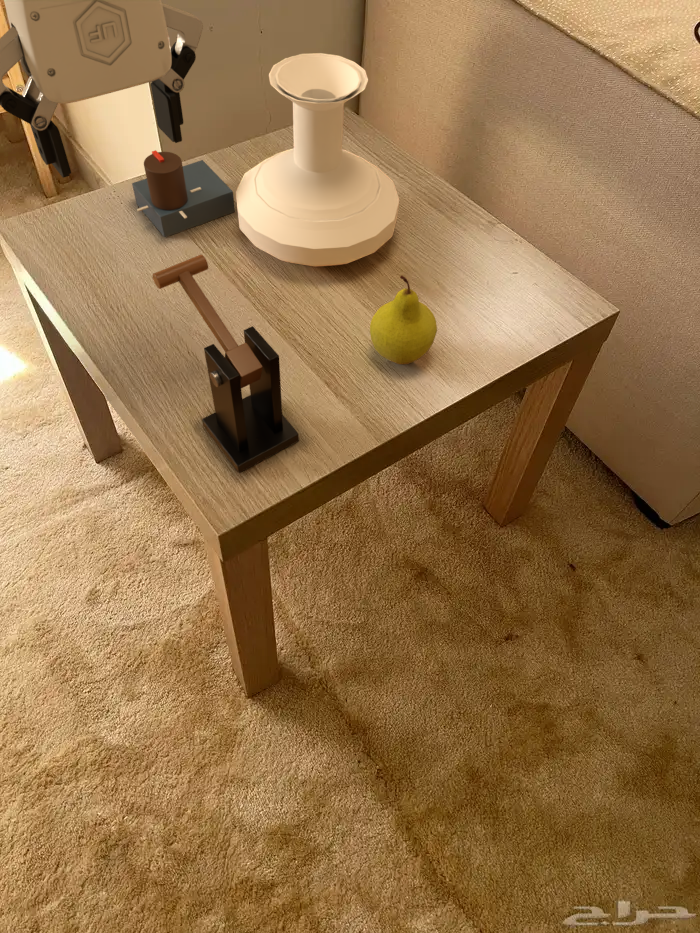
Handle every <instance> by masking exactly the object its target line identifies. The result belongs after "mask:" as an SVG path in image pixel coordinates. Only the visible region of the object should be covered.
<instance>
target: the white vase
mask: <svg viewBox="0 0 700 933" xmlns="http://www.w3.org/2000/svg"><path fill="white" fill-rule="evenodd" d="M268 79H269V85H270V86H271V87H273V89H275V90H276V91H277V92H278V93H279V94H280V95H282V96H283V97H285V98H286V99H287V100H289V101H291V102H292V126H293V128H292V129H293V130H292V131H293V132H292V133H293V148H290V149H289V148H288V149H286V150H284V151H280V152H277V153H275V154H273V155H272V156H270V157H267V158H266V159H265V158H264V160H262V161H261V162H259V163H258V164H256V165H255V166H253V167H252V168H250V169H249V170H247V171H246V172H245V173H244V174H243V176H242V178H241V180H240V182H239V184H238V186H237V188H236V190H235V199H236V208H237V209H236V210H237V217H238V218H237V219H238V227H239V230H240V231H241V232H242V234H244V235H245V236H246V238H247V239H248V240H249V242H251V243H252V245H253V246H254V247H256V248H257V249H259V250H260V251H263V252H264V253H267V254H269V255H270V256H272V257H274V258H275V259H278V260H280V261H282V262H287V263H291V264H296V265H303V266H308V267H314V268H317V267H329V266H341V265H347V264H349V263H352V262H354V261H357V260H360V259H361V258H364V257H366V256H369V255H372V254H374V253H376V252H377V251H378V250H379V249H381V247H382V246H383V245H385V244H386V243H387V242H388V241H389V240H390V239H391V238H392V237H394V232H395V228H396V225H397V221H398V215H399V209H400V208H399V206H400V198H399V194H398V191H397V188H396V185H395V181H394V180H392V178H390V177H389V176H388V175H387V174H386V173H385V172H383V171H382V170H381V169H380V168H379V167H378V166H376V165H375V164H374V163H371V162H369V161H368V160H367V159H365V158H363V157H361V156H359V155H357V154H355V153H353V152H351V151H348V150H346V149H343V136H344V135H343V134H344V132H343V131H344V130H343V129H344V110H345V103H346V102H348V101H350V100H351V99H353V98H355V97H356V96H358V95H359V94H360V93H362V92H363V91H364V90H366V87H367V84H368V82H369V78H368V75H367V71H366V69H365V68H363V67H362V66H360V65H359V64H358V63H356V62H355V61H353V60H351V59H348V58H347V57H344V56H342V55H336V54H330V53H323V52H317V53H313V52H311V53H299V54H296V55H292V56H289V57H285V58H284V59H282V60H280V61H279V62H276V63H275V64H273V65H272V67H271V69H270V71H269V73H268Z"/></svg>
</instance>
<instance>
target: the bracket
mask: <svg viewBox="0 0 700 933" xmlns="http://www.w3.org/2000/svg"><path fill="white" fill-rule="evenodd" d="M243 338H244V343H247V344H248V345H249V347H250V348H251V350H252V351H253V353H254V354H255V356H256V357H257V359H258V360H259V362H260V363H261V365H262V366H263V368H262V373H261V378H260V380H258V381H256V382H254V383H251V384H249V385H248V386H249V392H250V393H249V394H250V395H248V396H246V397H244V398H243V394H242V393H243V392H242V388H241V384H240V376H239V374H238V373H237V371H236V370H235V369H234V368H233V367H232V365H231V364H230V363H229V362H228V361H227V359H226V358H225V355H224V354H223V353H222V352H221V351H220V350H219V349H218V347H217V346H216V345H215V343H212V344H210V345H207V346H206V347H204V348H203V351H204V357H205V358H204V359H205V362H206V369H207V374H208V380H209V386H210V391H211V396H212V402H213V408H214V412H213V413H211V414H209V415H207V416H205V417H203V418H201V422H202V427H203V428H204V429H205V431H206V432H207V433H208V435H209V436H210V438H212V440H213V441H214V442H215V444H216V445H217V447H218V448H219V449H220V450H221V452H222V453H223V455H224V456H225V457H226V458H227V460H228V461H229V462H230V463H231V465H232V467H233V468H234V469H235V471H236V472H237V473H238V474H241V473H242V472H244V471H246V470H248V469H250V468H251V467H253V466H255V465H257V464H258V463H260V462H262V461H264V460H267V459H269V458H270V457H272V456H274V455H275V454H277V453H279V452H281V451H283V450H285V449H287V448H288V447H290V446H292V445H295V444H296V443H297V442H299V441H300V437H299V436H300V435H299V433H298V432H297V430H296V429H295V428H294V426H293V425H292V424H291V423H290V422H289V421H288V419H287V418H286V417H285V416H284V415H283V404H282V403H283V402H282V387H281V367H280V366H281V364H280V355H279V354H278V352H276V350H275V349H274V348H273V347H272V346H271V345H270V344H269V343H268V341H266V340H265V338H264V337H263V336H262V335H261V334H260V332H258V330H257V329H256V328H255V327H254V326H253V325H252V326H250V327H248V328H245V329H243Z"/></svg>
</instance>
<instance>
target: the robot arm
mask: <svg viewBox="0 0 700 933" xmlns="http://www.w3.org/2000/svg"><path fill="white" fill-rule="evenodd" d="M3 3H4V6H5V12H6V15H7V20H8V24H9V29H8V30H7V31H6V32H5V33H4V34H3V35H2V36H1V37H0V107H1V108H2V109H3V111H5V112H7V113H9V114H10V115H13V116H14V117H15V118H18V119H20V120H22V121H23V122H25V123H27V124H29V125H30V128H31V132H32V135H33V138H34V141H35V143H36V147H37V150H38V153H39V156H40V158H41V159H42V161H43V163H44V164H45V165H46V166H48V165H52V166H53V167H54V169H55V170H56V171H57V172H58V173H59V175H60V176H61V177H62V178H63V179H64V178H67V177H70V176H71V174H72V170H71V166H70V163H69V161H68V156H67V153H66V150H65V145H64V143H63V139H62V135H61V133H60V129H59V127H58V126H57V125H56V123H55V122H53V121H52V118H53V116H54V114H55V112H56V109H57V107H58V105H59V104H71V103H78V102H81V101H86V100H89V99H93V98H97V97H101V96H104V95H107V94H108V95H109V94H111V93H115V92H119V91H123V90H126V89H130V88H135V87H138V86H142V85H145V84H148V83H150V89H151V96H152V100H153V107H154V110H155V111H154V113H155V118H156V124H157V127H158V129H159V130H160V131H162V133H163V134H164V135H165V136H166V137H167V138H168V139H169V140H170V141H171V142H173V143H175V144H178V143H180V142H182V141H183V134H182V128H181V126H182V125H184V115H183V109H182V101H181V100H182V99H181V94H180V93H181V92H182V91H183V90H184V88H185V78H186V77H187V75H188V73H189V72H190V70H191V69H192V67H193V65H194V63H195V62H196V57H197V54H196V53H195V52H196V50H197V49H198V46H199V43H200V41H201V40H200V39H201V37H202V32H203V30H204V24H203V22H202V20H200V19H199V18H198V17H197V16H196V15H195V14H193V13H192V12H188V11H186V10H183V9H180V8H178V7H175V6H172V5H170V4H168V3H164V2H162V0H3ZM168 28H169V29H172V30H175V31H177V34H176V40H175V42H173V44H172V46H171V42H170V36H169V30H168ZM18 62H20V65H21V67H22V70H23V71H24V73H25V74H26V75H27V77H28V79H27V81H26V83H25V86H24V88H23V91H22V93H19V92H18V91H15V90H14V89H12V88H11V87H8V85H6V84H5V83H4V82H3V78H4V76H5V75H6V74H7V73H8V72H9V71H10V70H11V69H12V68H13V67H14V66H15V65H17V64H18Z"/></svg>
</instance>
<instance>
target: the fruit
mask: <svg viewBox="0 0 700 933" xmlns="http://www.w3.org/2000/svg"><path fill="white" fill-rule="evenodd" d="M399 278H400V279H401V280H403V282H404V283H405V284H406V285H407V288H405V287H404V288H402V289H400V290H398V291H397V293H396V295H395V296H394V298H393V300H390V301H388V302H387V303H385V304H383V305H381V306H380V307H379V308H378V309H377V310H376V312H375V313H374V315H373V316H372V318H371V321H370V324H369V334H370V340H371V344H372V345H373V347H374V350H375V351H376V352H377V353H378V354H379V355H380V356H381V357H383V358H384V359H385V360H388V361H390V362H392V363H395V364H396V365H397V364H398V365H409V364H411V363H415V362H416V361H418V360H419V359H420V358H422V357H423V356H425V355H426V353H428V351H429V350H430V348H431V347H432V346H433V344H434V341H435V338H436V335H437V333H438V325H437V320H436V317H435V315H434V313H433V311H432V310H431V309H430V308H429V307H428V306H427V305H426V304H425V303H422V302H421V301H420V300H419V299H420V298H419V296H418V294H417V293H416V291H415V290H413V289H412V288H411V287H410V283H409V281H408V279H407V278H406V277H405V276H404V275H400V276H399Z"/></svg>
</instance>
